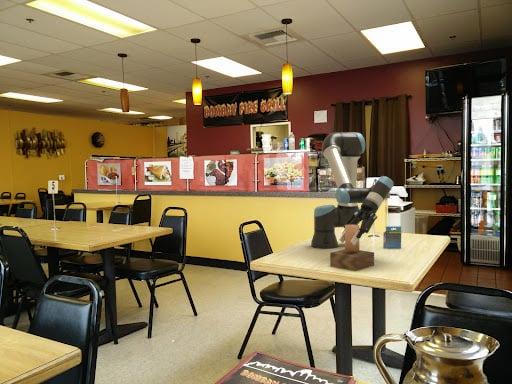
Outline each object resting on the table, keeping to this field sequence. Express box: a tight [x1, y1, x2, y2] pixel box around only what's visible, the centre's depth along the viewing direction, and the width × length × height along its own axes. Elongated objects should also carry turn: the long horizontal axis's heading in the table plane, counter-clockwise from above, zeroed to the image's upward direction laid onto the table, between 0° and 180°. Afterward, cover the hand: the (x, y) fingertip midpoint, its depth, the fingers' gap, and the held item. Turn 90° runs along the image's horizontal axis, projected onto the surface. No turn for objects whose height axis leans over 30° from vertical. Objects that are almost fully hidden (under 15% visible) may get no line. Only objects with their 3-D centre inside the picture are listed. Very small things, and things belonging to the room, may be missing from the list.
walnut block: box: [329, 248, 375, 272], centre depth 188 cm, size 14×14×6 cm
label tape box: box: [382, 225, 402, 249], centre depth 230 cm, size 9×4×12 cm, turn 92°
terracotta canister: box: [344, 224, 360, 251], centre depth 188 cm, size 6×6×11 cm
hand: (346, 242), depth 186 cm, fingers closed on terracotta canister, 6 cm apart
